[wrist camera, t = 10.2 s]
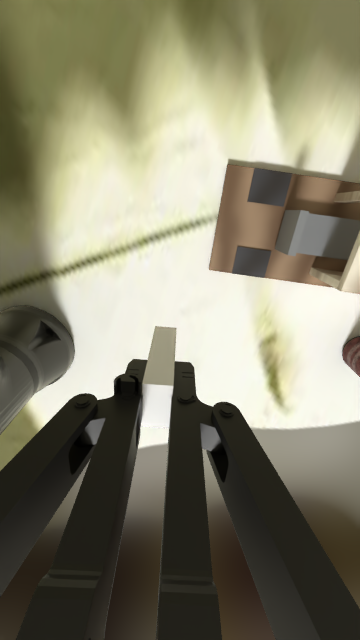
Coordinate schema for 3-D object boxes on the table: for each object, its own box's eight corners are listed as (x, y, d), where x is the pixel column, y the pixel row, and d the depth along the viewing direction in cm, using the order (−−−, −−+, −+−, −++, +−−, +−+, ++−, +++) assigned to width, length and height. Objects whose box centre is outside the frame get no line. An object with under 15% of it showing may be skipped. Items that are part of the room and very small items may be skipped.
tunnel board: (208, 269, 39) (213, 285, 31) (227, 165, 34) (239, 149, 25) (398, 296, 40) (457, 320, 31) (447, 197, 34) (536, 192, 25)
